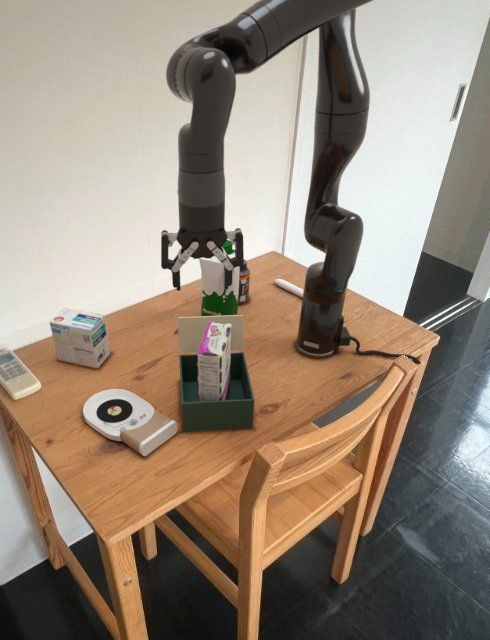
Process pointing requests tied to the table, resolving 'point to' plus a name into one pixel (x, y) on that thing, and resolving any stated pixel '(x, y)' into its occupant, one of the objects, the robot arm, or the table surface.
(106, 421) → the record player
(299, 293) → the marker
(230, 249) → the milk carton
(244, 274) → the supplement bottle
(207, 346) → the candy bar box
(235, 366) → the dark green open box
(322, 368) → the table surface
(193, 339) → the flap
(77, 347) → the light bulb box
